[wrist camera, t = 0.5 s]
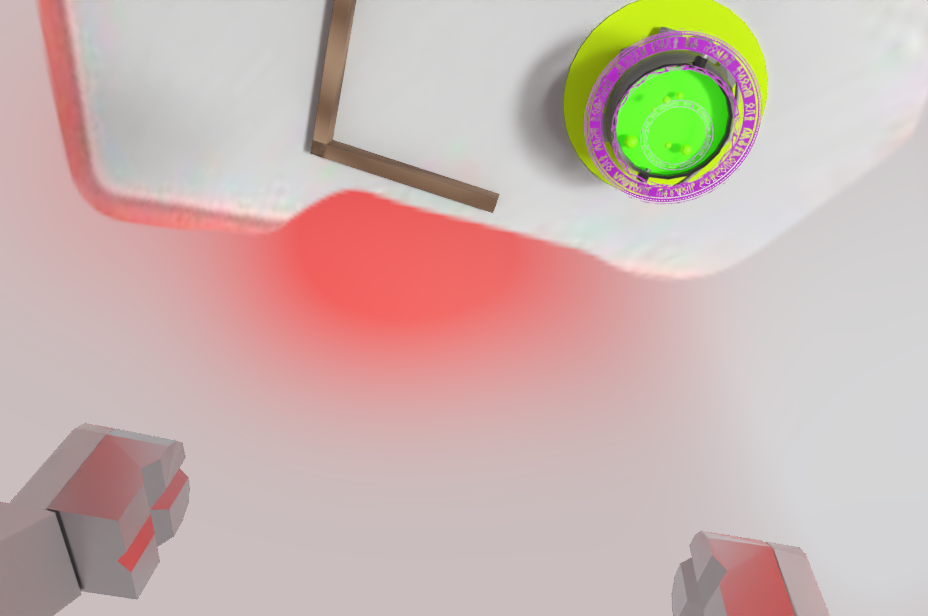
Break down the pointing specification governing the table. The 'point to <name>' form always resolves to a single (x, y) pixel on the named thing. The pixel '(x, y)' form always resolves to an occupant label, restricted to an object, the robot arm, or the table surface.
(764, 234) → the table surface
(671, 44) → the toy cauldron
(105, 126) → the table surface
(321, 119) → the frame
